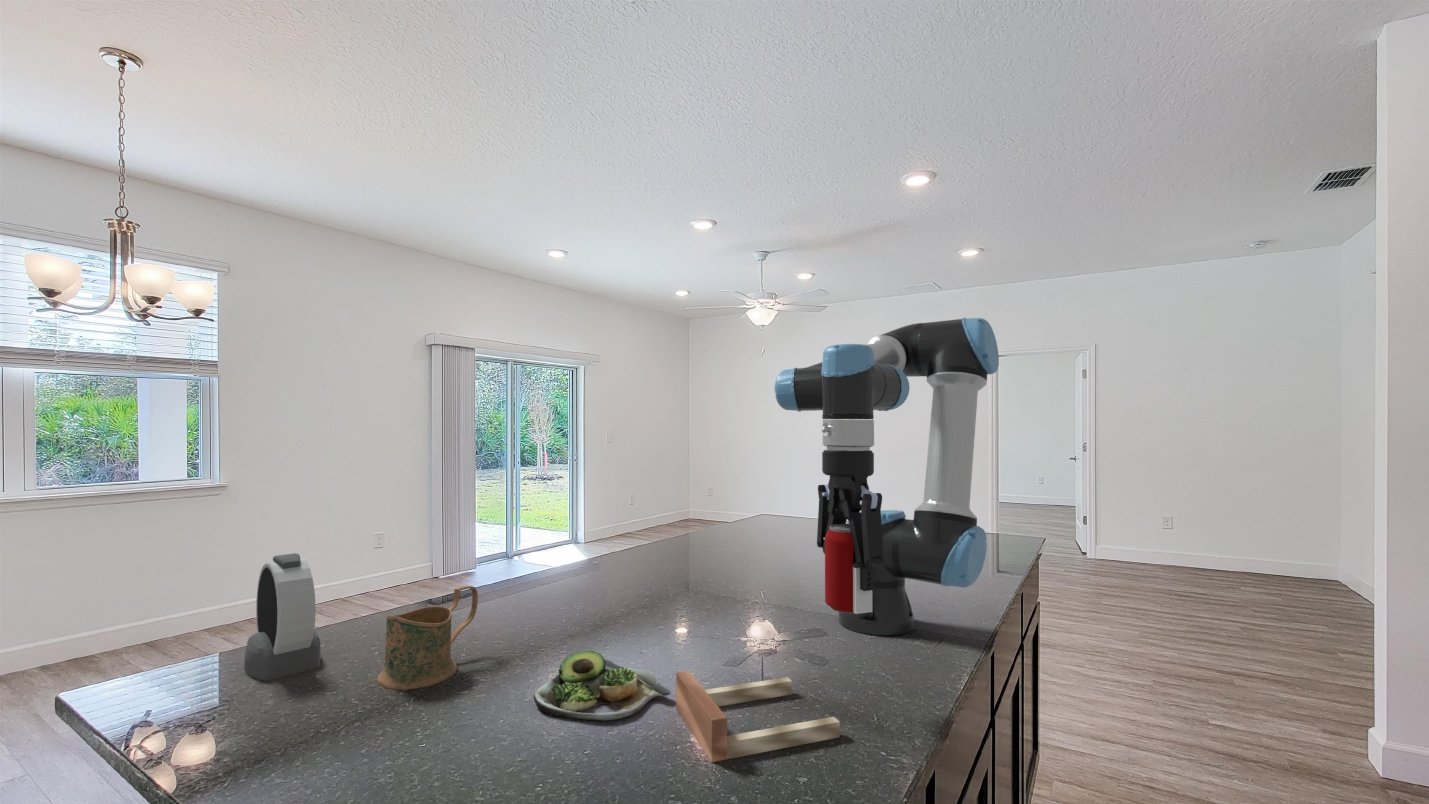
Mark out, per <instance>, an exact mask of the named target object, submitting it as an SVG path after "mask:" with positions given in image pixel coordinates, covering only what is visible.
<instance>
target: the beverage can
mask: <svg viewBox="0 0 1429 804" xmlns="http://www.w3.org/2000/svg"><path fill="white" fill-rule="evenodd" d="M824 539H825V554H824V603H825V604H826V605H827V606H829V608H831V609H832V610H833V611H835V612H837V613H839V612H842V613H853V565H852V564H856V563H857V562H856V557H855V552H854V546H853V540H852V536H851V531H850V525H849V524H848V523H846V524H833V525H830V529H829V530H828V532H827V534H826V536H825V538H824ZM863 558H864V556H863Z"/></svg>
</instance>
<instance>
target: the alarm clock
mask: <svg viewBox="0 0 1429 804" xmlns="http://www.w3.org/2000/svg"><path fill="white" fill-rule="evenodd" d="M314 585H315V584H314V579H313V573H312V571H311V568H310V565H309V564H308V561H306V559H304V557H301V556H300V554H299V553H296V552H295V553H287V554H278V555H274V556H273V557H272V560H271V561H267V562H265V563H264V565H263V566H262V567H261V569H260V572H259V576H258V582H257V589H256V606H255V607H256V613H255V615H256V630H257V632H256V633H254V634H252V635H251V636H249V638H248V639H247V642H246V648H245V652H244V661H243V662H244V664H243V667H244V668H243V669H244V673H246V674H247V675H248V676H249V677H251V678H254V679H256V680H261V681H271V680H275V679H280V678H283V677H287V676H291V675H296V674H300V673H303V672H307V671H311V670H315V669H317V668H319V667H320V665H321V640H320V637H319V635H318V633H317V632H316V631H315V627H316V593H315V586H314Z"/></svg>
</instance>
